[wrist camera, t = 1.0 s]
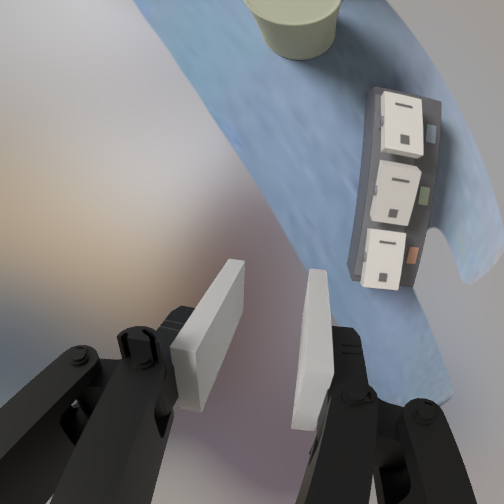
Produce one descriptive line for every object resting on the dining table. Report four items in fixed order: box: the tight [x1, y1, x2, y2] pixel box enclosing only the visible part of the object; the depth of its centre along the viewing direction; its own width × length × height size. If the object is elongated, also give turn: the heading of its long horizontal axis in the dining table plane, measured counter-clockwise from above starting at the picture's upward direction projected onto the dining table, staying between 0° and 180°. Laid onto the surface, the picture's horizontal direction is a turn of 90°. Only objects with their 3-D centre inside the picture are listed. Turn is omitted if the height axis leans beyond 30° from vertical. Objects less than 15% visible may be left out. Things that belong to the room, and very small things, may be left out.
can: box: [244, 0, 342, 60], centre depth 23 cm, size 9×9×12 cm
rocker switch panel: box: [347, 86, 441, 287], centre depth 31 cm, size 22×8×6 cm, turn 177°
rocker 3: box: [360, 228, 406, 290], centre depth 29 cm, size 6×4×2 cm
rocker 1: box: [380, 91, 424, 159], centre depth 24 cm, size 6×4×2 cm
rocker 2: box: [370, 160, 421, 226], centre depth 27 cm, size 6×4×2 cm
